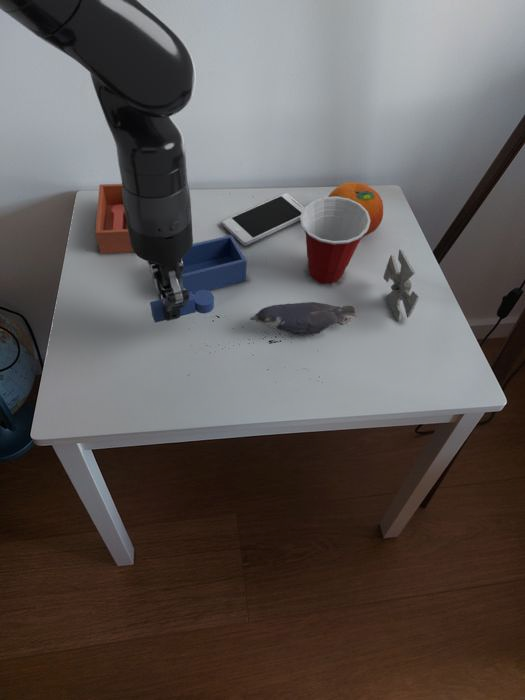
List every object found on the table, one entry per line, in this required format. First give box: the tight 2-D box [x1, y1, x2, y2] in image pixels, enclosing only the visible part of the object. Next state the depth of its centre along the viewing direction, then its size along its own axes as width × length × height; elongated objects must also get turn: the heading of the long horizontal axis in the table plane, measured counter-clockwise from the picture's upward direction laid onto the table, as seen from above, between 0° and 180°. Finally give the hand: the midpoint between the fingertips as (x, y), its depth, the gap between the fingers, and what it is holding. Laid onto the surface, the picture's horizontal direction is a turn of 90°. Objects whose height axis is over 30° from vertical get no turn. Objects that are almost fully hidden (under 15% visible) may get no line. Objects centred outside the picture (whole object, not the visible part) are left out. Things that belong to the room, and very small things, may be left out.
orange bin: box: [94, 183, 135, 254], centre depth 90 cm, size 13×7×5 cm, turn 8°
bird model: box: [249, 301, 358, 336], centre depth 78 cm, size 4×17×5 cm, turn 98°
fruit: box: [327, 181, 384, 238], centre depth 92 cm, size 11×10×8 cm
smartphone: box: [221, 192, 305, 247], centre depth 95 cm, size 7×16×1 cm, turn 128°
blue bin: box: [182, 234, 247, 296], centre depth 84 cm, size 13×7×5 cm, turn 113°
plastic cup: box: [300, 196, 371, 285], centre depth 83 cm, size 11×11×12 cm
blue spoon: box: [149, 290, 215, 323], centre depth 73 cm, size 9×3×3 cm, turn 113°
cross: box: [383, 248, 420, 322], centre depth 80 cm, size 10×3×10 cm, turn 13°
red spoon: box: [111, 204, 126, 230], centre depth 90 cm, size 9×3×3 cm, turn 8°
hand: (170, 312), depth 73 cm, fingers closed on blue spoon, 1 cm apart
